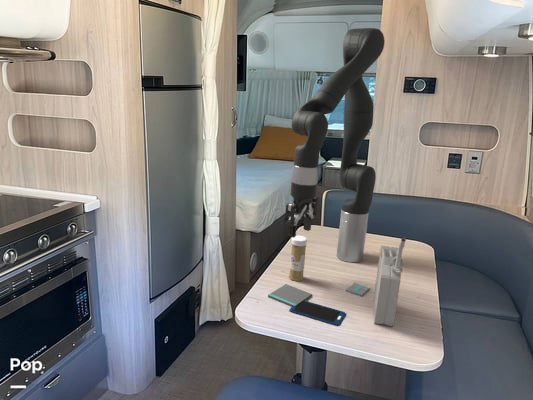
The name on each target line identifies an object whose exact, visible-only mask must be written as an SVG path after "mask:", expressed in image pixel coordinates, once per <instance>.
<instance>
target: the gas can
mask: <svg viewBox="0 0 533 400" xmlns="http://www.w3.org/2000/svg"><path fill="white" fill-rule="evenodd" d="M406 241H407V239H406V238H405V237H402V238H401V239H400V242H399V243H398V247H397V246H396V247H394V246H388V245H380V250H379V257H378V264H377V265H378V266H377V272H376V278H375V279H376V280H375V285H374V287H375V288H374V292H373V293H374V294H373V302H372V303H373V304H372V305H373V322H374V323H373V324H376V325H384V326H387V327H394V325H395V318H396V313H397V305H398V300H399V292H400V288H401V287H400V286H401V281H402V280H401V278H402V275H401V273H403V272H404V270H403V267H402V266H401V265H403V264H404V263H403V262H404V258H403V257H402V255H403V254H402V253H403V250H404V247H405V243H406Z"/></svg>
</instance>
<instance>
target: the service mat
mask: <svg viewBox="0 0 533 400" xmlns="http://www.w3.org/2000/svg"><path fill="white" fill-rule="evenodd" d="M312 295H313V294H312V293H310V292H308V291H306V290H302V289H300V288H297V287H294V286H292V285H289V284H286V283H285V284H284V285H281V286H280V287H278V288H277V289H275V290H273V291H272V292H270V293H269V294H267V297H268V298H269V299H272V300H274V301H277V302H280V303H282V304H284V305H287V306H289V307H290V308H291V307H292V306H294V307H295V306H297V305H298V304H299V303H301V302H302V301H304V300H305V301H308V299H310V298H311V297H312Z"/></svg>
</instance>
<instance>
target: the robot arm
mask: <svg viewBox="0 0 533 400" xmlns="http://www.w3.org/2000/svg"><path fill="white" fill-rule="evenodd" d="M385 41H386V40H385V36H384V33H383V32H382V31H381V29H379V28H375V27H362V28H361V27H359V28H358V27H357V28H351V29H349V30H347V32H346V33H345V35H344V38H343V43H342V58H343V65H342V67H340V68H339V69H337V70H336V71H335V72H333V73H332V74H330V75H329V76H328V77H327V78H326V79H325V81H324V82H323V83H322V84H321V86H320V87H319V88H318V90H317V91H316V93H315V95H313V97H311V98H310V99H308V101H307V102H305V103H304V104H303V105H301V106H300V107H299V108H298V109H297V111H296V112H295V113H294V115H293V117H292V119H291V128H292V131H293V133H295V135H299V136H304V137H307V139H306V141H305V143H304V144H303V143H302V144H298V145H297V146H296V147H295V150H294V157H293V166H292V167H293V168H292V172H291V182H290V196H291V197H292V198H293V201H292V203H289V202H288V203H286V205H285V213H284V224H287V225H288V230H287V231H288V232H287V234H288V237H290V238H292V237H293V238H294V237H296V236H297V226H298V225H297V224H298V222H299V220H302V217H303V216H304V219H303V230H304V231H307V232H310V231H311V229H312V220H313V219H314V217H315V216H317V212H318V201H319V200H318V199H319V198H318V197H317V189H318V188H317V187H318V181H319V180H318V179H319V161H320V160H319V159H320V152H321V150H322V147H323V144H324V141H325V139H326V136H327V134H328V131H329V129H328V128H329V120H328V118H327V116H326V115H330V114H331V113H333V112H335V110H336V109H337V106H338V105H339V104H340V102H341V101H342V99H343V98H344V103H343V105H344V106H343V138H342V139H343V140H342V154H341V161H340V167H339V182H340V185H341V187H342V188H343V189H346V190H349V191H352V192H356V194H355V198H347V199H345V200H343V201H342V203H341V209H340V210H341V211H340V221H339V227H338V228H339V229H338V237H337V246H336V257H337V258H338V259H339V260H341V261H344V262H348V263H358V262H362V261H363V259H364V252H365V244H366V236H367V229H368V221H369V214H370V207H371V205H372V202H373V196H374V190H375V184H376V178H377V176H376V175H377V174H376V170H375V169H374V167H372V166H370V165H366V164H362V163H361V164H360V163H358V162H357V161H358V153H359V149H360V147H361V146H362V145H361V144H362V143H363V141H364V140H365V139H366V137H367V136H368V135H369V132H370V131H371V129H372V127H373V123H374V107H375V106H374V105H375V104H374V101H373V98H372V96H371V93H370V91H369V89H368V86H367V85H366V83H365V81H364V79H363V75H364V73H366V72H367V71H368V69H369V68H370V67H371V66H372V65H373V64H374V63H375V62H376V61H377V60H378V58H380V56H381V54H382V52H383V51H384V48H385Z"/></svg>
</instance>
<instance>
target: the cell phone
mask: <svg viewBox="0 0 533 400" xmlns="http://www.w3.org/2000/svg"><path fill="white" fill-rule="evenodd" d="M288 312H290V313H291V314H295V315H299V316H301V317H304V318H309V319H312V320H315V321H318V322H320V323H321V322H322V323H325V324H328V325H332V326H335V327H339V326H340V325H341V323H342V322H343V320H344V319H345V318H346V315H347V313H346V312H345V311H342V310H339V309H336V308H332V307H329V306H325V305H322V304H318V303H314V302H311V301H308V300H304V301H302V302H301V303H299V304H298V305H297V306H295V307H294V306H292V307H291V306H290V308H289V311H288Z"/></svg>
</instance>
